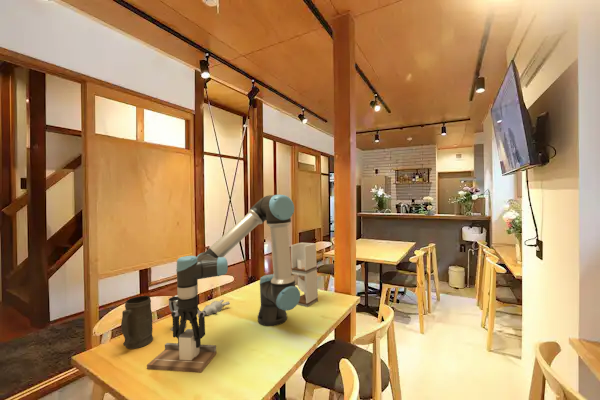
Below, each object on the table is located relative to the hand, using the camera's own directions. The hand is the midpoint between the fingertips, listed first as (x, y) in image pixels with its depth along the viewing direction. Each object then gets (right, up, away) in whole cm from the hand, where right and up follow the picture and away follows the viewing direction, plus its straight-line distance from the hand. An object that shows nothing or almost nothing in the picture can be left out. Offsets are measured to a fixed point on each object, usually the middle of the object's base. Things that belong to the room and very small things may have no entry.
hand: (189, 354), depth 106 cm
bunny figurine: (-5, -3, +48) cm, 48 cm away
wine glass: (-17, -3, +28) cm, 33 cm away
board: (-2, -2, -1) cm, 3 cm away
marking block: (0, 0, 0) cm, 0 cm away
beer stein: (-29, -3, +13) cm, 31 cm away
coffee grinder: (+47, -1, +56) cm, 73 cm away
